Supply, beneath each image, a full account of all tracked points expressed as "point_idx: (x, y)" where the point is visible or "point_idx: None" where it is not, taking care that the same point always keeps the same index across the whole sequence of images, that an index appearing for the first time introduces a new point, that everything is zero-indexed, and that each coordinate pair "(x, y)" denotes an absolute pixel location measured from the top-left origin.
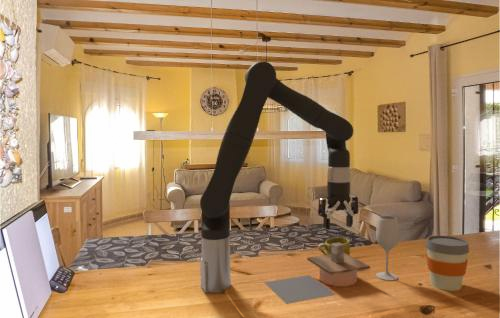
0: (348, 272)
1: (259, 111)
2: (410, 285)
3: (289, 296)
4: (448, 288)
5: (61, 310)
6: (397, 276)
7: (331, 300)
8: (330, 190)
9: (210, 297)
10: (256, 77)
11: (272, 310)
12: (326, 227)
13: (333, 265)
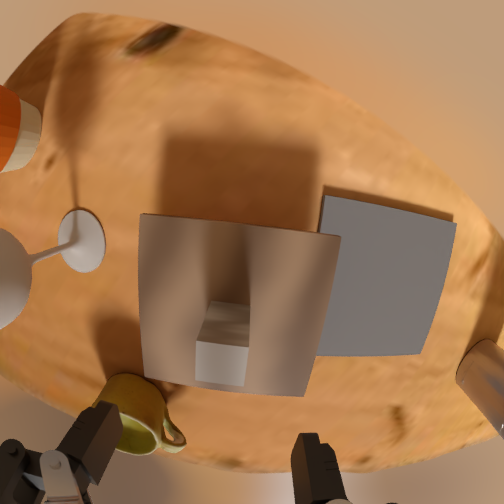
0: None
1: None
2: (71, 162)
3: (433, 254)
4: (34, 108)
5: None
6: (60, 224)
7: (349, 184)
8: None
9: (500, 326)
10: None
11: (476, 222)
12: (324, 446)
13: (277, 293)
